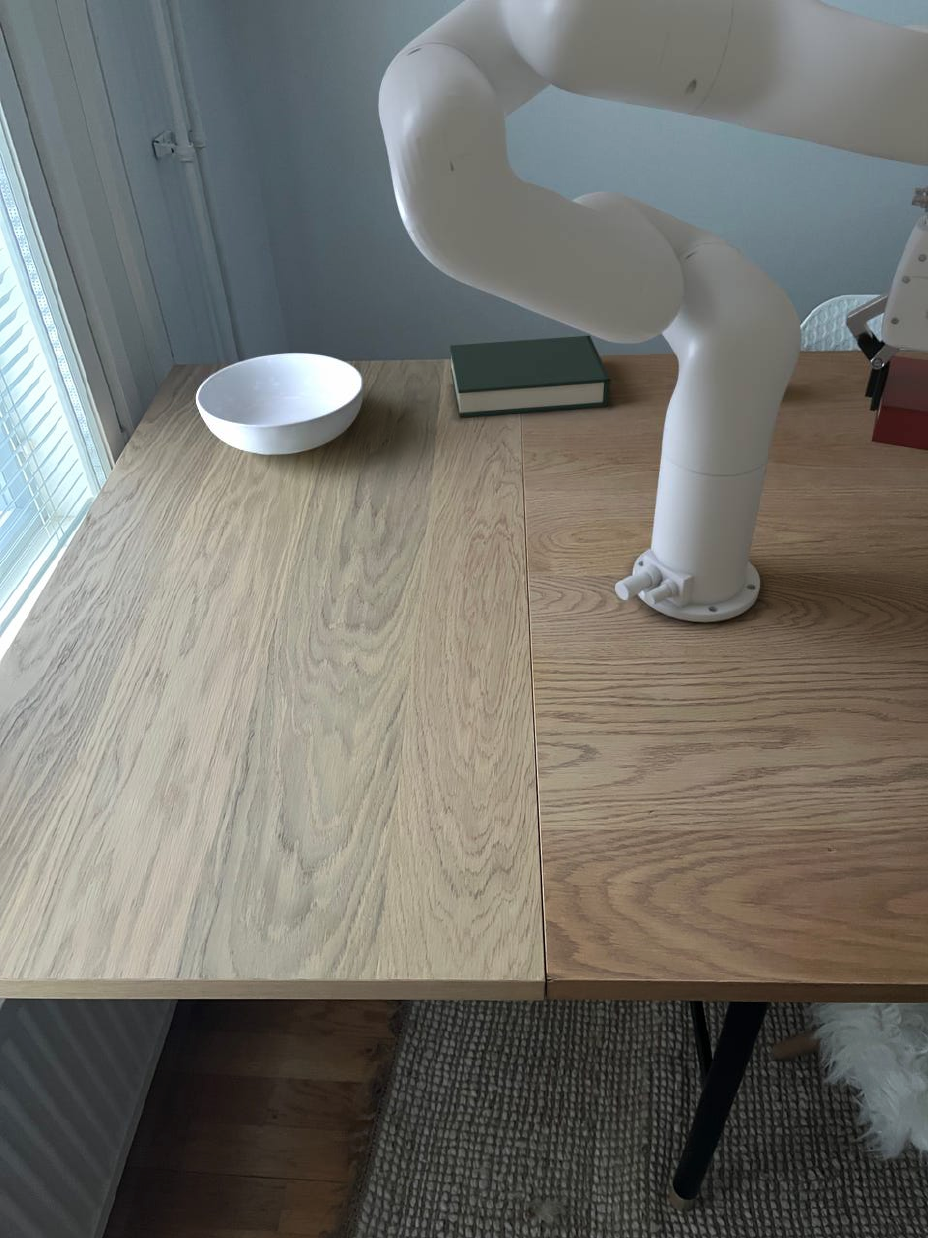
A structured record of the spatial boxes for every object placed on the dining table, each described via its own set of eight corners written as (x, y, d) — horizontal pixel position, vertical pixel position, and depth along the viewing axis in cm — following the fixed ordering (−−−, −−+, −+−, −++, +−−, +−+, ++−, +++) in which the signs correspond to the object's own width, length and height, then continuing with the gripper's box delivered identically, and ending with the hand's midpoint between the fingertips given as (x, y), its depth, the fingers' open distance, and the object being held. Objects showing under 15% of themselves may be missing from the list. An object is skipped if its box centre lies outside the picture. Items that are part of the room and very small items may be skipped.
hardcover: (588, 361, 137) (589, 335, 135) (608, 406, 127) (610, 378, 124) (451, 371, 136) (449, 345, 134) (459, 417, 126) (458, 389, 123)
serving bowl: (389, 453, 119) (384, 403, 114) (223, 491, 113) (211, 440, 109) (343, 386, 134) (337, 339, 130) (195, 416, 128) (183, 369, 124)
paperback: (956, 455, 82) (968, 418, 80) (871, 441, 85) (881, 405, 82) (958, 399, 90) (970, 365, 88) (880, 388, 92) (890, 354, 90)
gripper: (862, 212, 76) (815, 414, 87) (1109, 234, 70) (1025, 446, 81) (869, 186, 81) (824, 380, 92) (1100, 204, 75) (1022, 408, 87)
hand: (919, 409), depth 87 cm, fingers closed on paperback, 7 cm apart
